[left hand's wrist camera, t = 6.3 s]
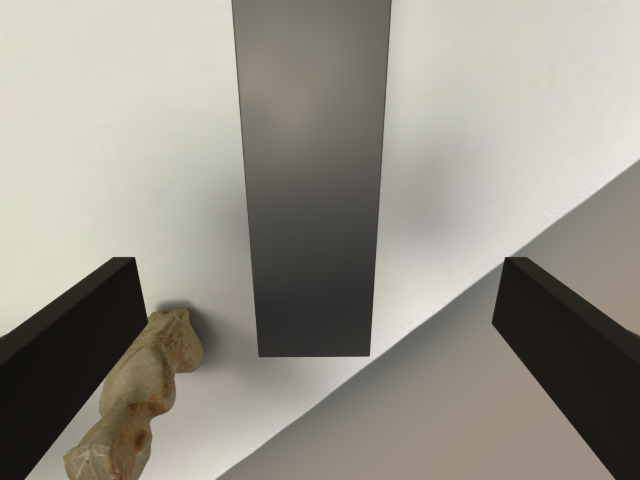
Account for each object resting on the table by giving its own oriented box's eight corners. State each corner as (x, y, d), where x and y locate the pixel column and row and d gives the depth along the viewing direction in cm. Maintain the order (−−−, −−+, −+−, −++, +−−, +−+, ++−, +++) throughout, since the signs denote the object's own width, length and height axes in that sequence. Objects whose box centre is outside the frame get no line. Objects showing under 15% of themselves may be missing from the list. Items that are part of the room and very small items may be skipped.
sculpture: (159, 361, 37) (63, 517, 23) (141, 302, 34) (21, 436, 20) (214, 357, 37) (151, 511, 23) (200, 297, 34) (120, 429, 20)
